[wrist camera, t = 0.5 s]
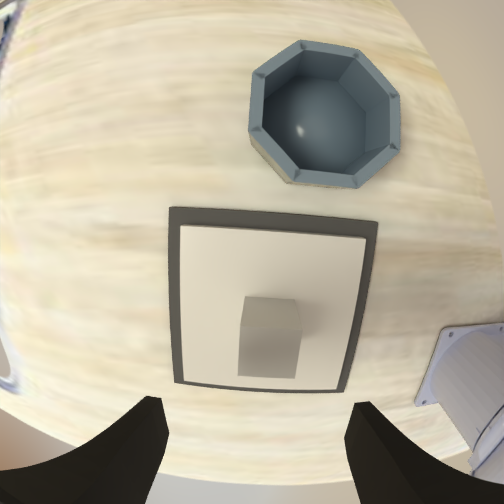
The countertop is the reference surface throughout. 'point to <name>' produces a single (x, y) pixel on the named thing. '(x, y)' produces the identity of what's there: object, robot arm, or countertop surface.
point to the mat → (269, 222)
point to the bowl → (323, 115)
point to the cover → (266, 306)
